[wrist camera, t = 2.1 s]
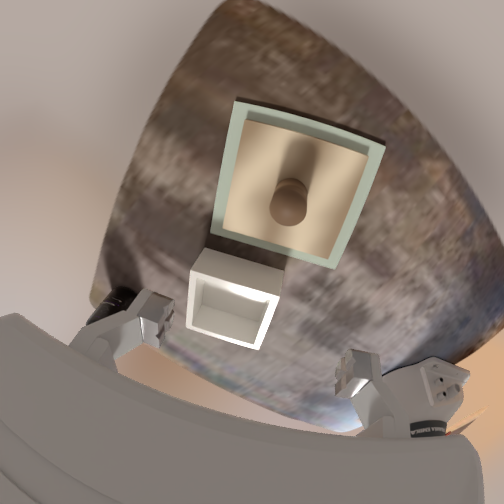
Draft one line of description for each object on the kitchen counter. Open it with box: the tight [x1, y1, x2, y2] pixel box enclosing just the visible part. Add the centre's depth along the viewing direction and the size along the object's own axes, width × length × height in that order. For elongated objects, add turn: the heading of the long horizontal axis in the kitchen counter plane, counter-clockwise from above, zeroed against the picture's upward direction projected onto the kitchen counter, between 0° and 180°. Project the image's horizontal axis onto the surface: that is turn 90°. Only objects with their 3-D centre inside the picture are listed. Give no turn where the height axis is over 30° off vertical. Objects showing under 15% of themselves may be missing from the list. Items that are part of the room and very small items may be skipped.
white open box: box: [186, 248, 284, 350], centre depth 34 cm, size 10×10×5 cm
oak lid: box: [222, 119, 369, 259], centre depth 25 cm, size 12×12×5 cm
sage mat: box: [210, 101, 386, 269], centre depth 27 cm, size 15×15×1 cm
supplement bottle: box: [86, 286, 138, 326], centre depth 37 cm, size 7×7×12 cm
